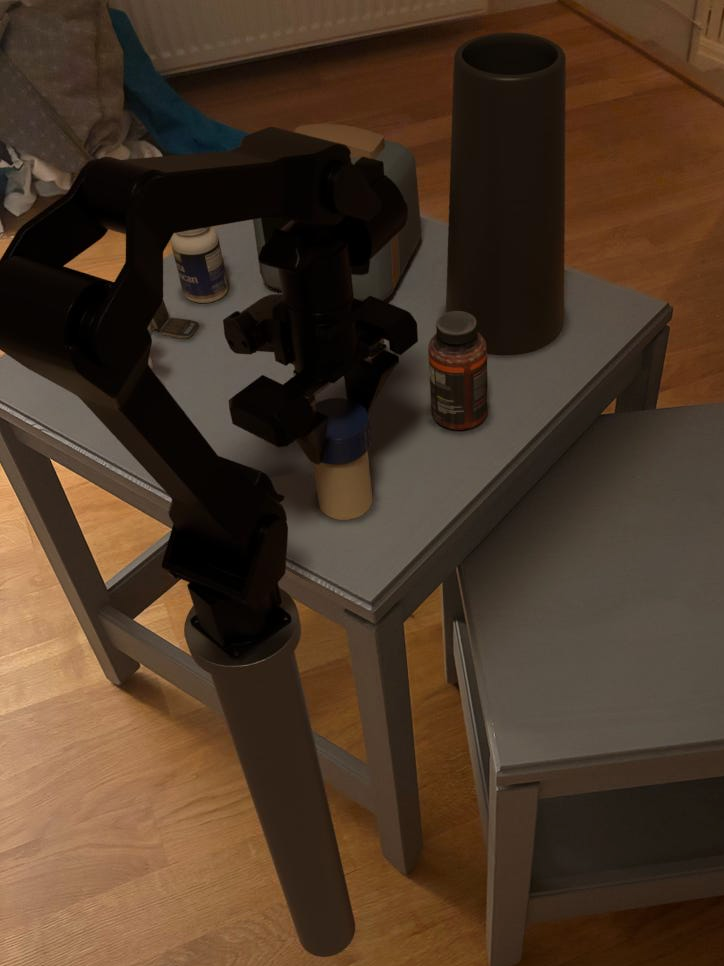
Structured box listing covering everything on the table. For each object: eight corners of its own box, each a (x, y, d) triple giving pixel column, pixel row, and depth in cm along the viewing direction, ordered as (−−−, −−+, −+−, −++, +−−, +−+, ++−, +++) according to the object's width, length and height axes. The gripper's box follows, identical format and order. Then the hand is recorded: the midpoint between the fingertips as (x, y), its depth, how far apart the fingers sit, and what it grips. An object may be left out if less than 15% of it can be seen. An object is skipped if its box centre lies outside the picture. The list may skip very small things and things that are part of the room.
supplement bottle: (490, 398, 112) (490, 305, 103) (484, 434, 108) (485, 341, 99) (434, 395, 112) (430, 302, 103) (427, 431, 108) (422, 338, 100)
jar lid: (368, 419, 98) (366, 394, 96) (373, 461, 94) (371, 437, 92) (304, 424, 98) (300, 400, 95) (306, 467, 94) (302, 443, 92)
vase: (543, 279, 126) (556, 18, 104) (579, 344, 118) (602, 75, 95) (433, 296, 124) (423, 32, 102) (462, 363, 116) (457, 92, 93)
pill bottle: (174, 297, 124) (154, 219, 116) (201, 274, 127) (184, 197, 119) (210, 309, 122) (193, 231, 115) (238, 286, 125) (222, 209, 118)
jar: (346, 528, 99) (336, 450, 92) (307, 503, 102) (295, 426, 94) (383, 499, 102) (376, 421, 95) (345, 476, 104) (335, 398, 97)
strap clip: (121, 329, 120) (111, 296, 117) (133, 314, 122) (123, 281, 118) (189, 340, 118) (181, 307, 115) (200, 325, 120) (192, 292, 117)
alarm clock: (257, 293, 124) (233, 162, 112) (304, 223, 134) (286, 96, 122) (389, 312, 122) (378, 180, 109) (426, 239, 132) (420, 111, 119)
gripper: (317, 214, 92) (335, 363, 104) (162, 314, 82) (202, 465, 94) (418, 254, 88) (424, 404, 100) (268, 364, 78) (295, 515, 90)
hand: (337, 443), depth 96 cm, fingers closed on jar lid, 6 cm apart
